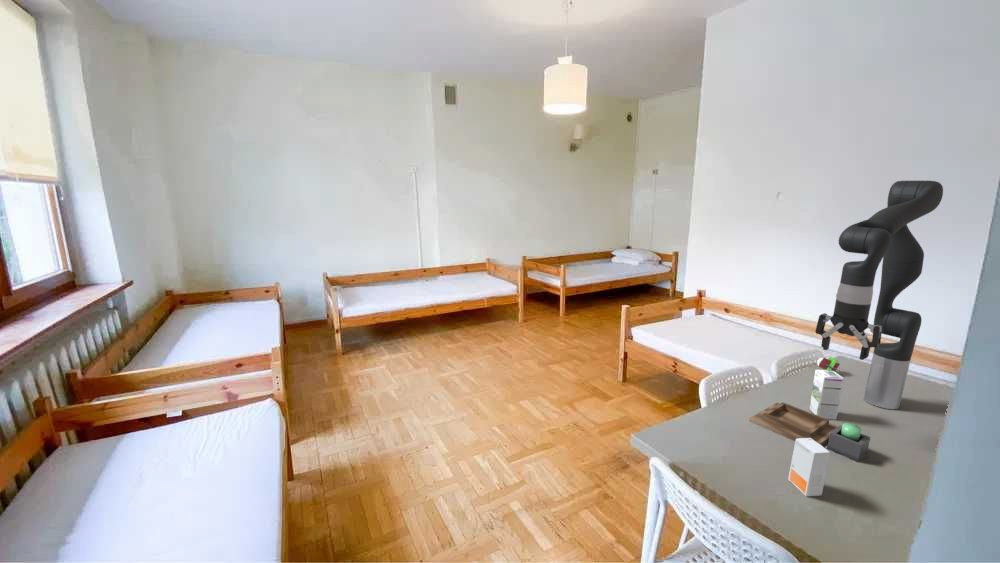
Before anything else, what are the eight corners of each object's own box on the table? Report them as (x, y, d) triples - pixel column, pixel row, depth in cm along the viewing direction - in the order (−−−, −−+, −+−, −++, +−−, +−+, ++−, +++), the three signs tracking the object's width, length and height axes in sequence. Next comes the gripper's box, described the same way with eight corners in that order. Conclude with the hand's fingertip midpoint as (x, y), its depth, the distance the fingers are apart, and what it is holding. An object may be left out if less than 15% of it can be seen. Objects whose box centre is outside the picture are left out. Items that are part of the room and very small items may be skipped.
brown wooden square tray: (776, 405, 143) (777, 397, 142) (840, 430, 128) (842, 421, 128) (749, 421, 133) (750, 412, 133) (815, 450, 119) (817, 440, 118)
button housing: (836, 440, 123) (840, 425, 122) (867, 453, 117) (870, 437, 116) (826, 448, 119) (830, 432, 118) (857, 461, 114) (861, 445, 113)
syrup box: (837, 420, 134) (845, 378, 131) (816, 418, 135) (824, 376, 132) (827, 411, 140) (835, 370, 136) (807, 409, 141) (814, 368, 137)
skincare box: (787, 480, 107) (794, 437, 104) (802, 479, 107) (810, 437, 104) (806, 497, 101) (814, 453, 98) (822, 496, 101) (831, 452, 98)
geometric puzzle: (836, 364, 171) (827, 349, 170) (849, 372, 164) (838, 356, 163) (820, 374, 172) (810, 358, 171) (831, 381, 165) (820, 365, 164)
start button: (843, 431, 120) (845, 421, 119) (861, 437, 117) (863, 428, 116) (838, 435, 118) (840, 425, 117) (856, 442, 115) (858, 432, 114)
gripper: (891, 303, 113) (879, 359, 117) (828, 292, 125) (819, 343, 128) (882, 308, 109) (870, 366, 113) (817, 296, 121) (809, 349, 124)
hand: (843, 354), depth 121 cm, fingers open, 8 cm apart
